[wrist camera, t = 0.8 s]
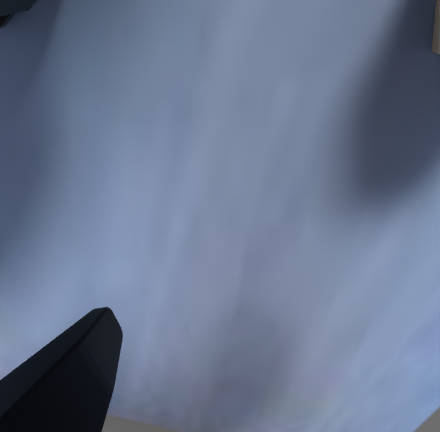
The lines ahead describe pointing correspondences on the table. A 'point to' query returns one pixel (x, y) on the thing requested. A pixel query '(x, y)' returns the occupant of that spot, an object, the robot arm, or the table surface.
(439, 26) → the brown rectangular block
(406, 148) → the table surface
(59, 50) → the table surface
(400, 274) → the table surface
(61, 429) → the robot arm
